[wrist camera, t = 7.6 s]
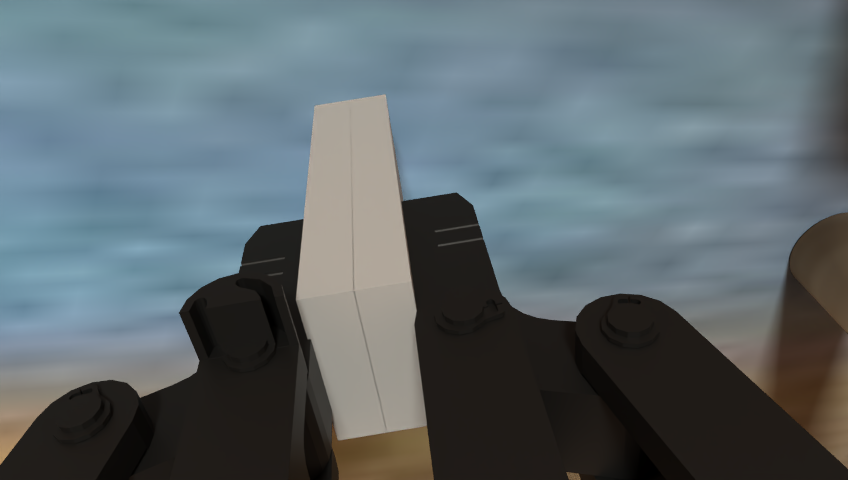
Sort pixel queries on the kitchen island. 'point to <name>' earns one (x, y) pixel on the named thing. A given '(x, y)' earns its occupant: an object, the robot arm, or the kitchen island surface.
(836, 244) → the post
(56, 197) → the kitchen island surface
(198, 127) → the kitchen island surface
